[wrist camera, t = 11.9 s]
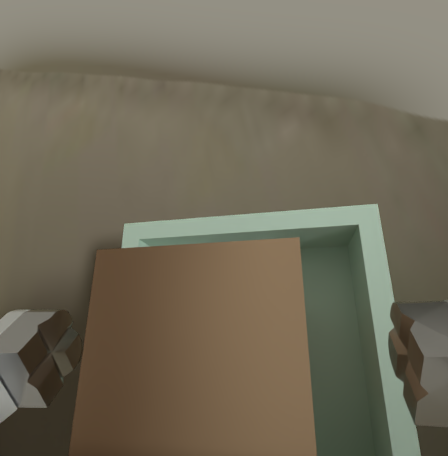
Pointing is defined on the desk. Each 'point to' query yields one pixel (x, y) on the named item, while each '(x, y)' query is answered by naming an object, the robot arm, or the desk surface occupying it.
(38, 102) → the desk surface
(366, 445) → the tray
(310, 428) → the walnut block
